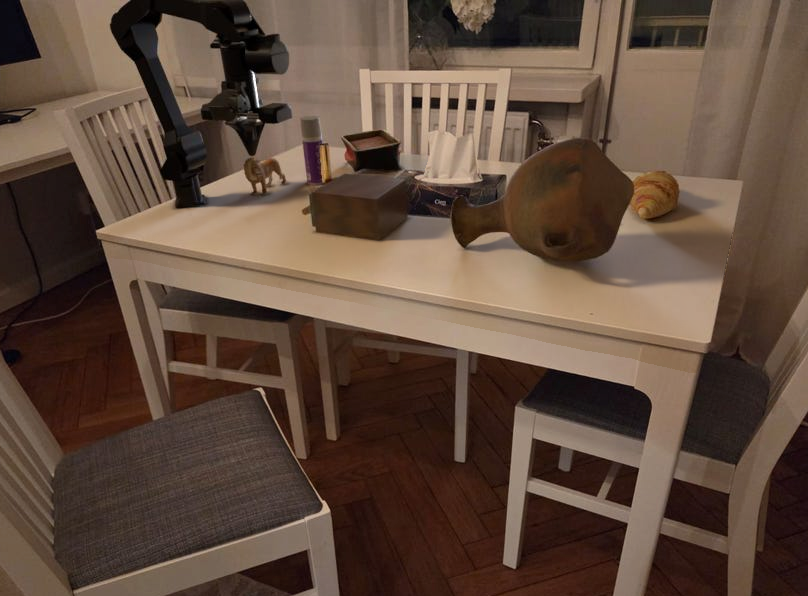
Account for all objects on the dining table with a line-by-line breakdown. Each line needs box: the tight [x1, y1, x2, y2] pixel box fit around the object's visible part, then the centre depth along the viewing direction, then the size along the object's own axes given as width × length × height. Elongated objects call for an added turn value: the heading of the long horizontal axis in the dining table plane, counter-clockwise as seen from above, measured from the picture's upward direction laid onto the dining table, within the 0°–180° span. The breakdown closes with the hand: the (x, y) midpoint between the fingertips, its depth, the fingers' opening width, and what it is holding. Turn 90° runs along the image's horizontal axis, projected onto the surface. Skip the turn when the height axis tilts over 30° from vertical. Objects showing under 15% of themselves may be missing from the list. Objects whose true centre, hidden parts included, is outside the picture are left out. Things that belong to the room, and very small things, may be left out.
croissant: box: [629, 170, 680, 220], centre depth 126 cm, size 21×10×8 cm, turn 156°
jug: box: [449, 137, 634, 263], centre depth 105 cm, size 20×20×30 cm
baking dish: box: [340, 128, 402, 173], centre depth 161 cm, size 14×18×10 cm
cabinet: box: [311, 173, 408, 241], centre depth 124 cm, size 14×13×8 cm
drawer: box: [301, 192, 316, 228], centre depth 126 cm, size 17×12×6 cm
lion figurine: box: [243, 156, 287, 196], centre depth 147 cm, size 15×5×9 cm, turn 162°
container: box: [300, 115, 325, 186], centre depth 149 cm, size 5×5×15 cm
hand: (252, 155), depth 130 cm, fingers closed
